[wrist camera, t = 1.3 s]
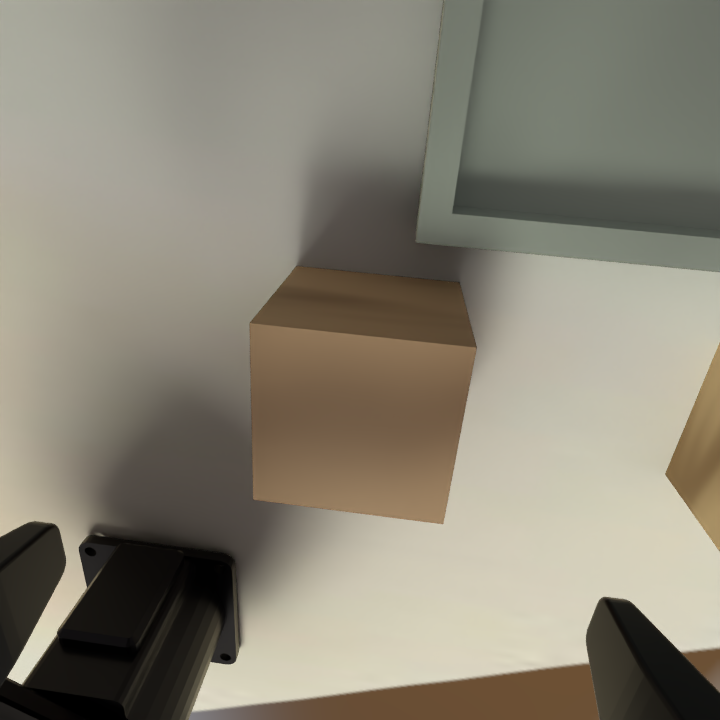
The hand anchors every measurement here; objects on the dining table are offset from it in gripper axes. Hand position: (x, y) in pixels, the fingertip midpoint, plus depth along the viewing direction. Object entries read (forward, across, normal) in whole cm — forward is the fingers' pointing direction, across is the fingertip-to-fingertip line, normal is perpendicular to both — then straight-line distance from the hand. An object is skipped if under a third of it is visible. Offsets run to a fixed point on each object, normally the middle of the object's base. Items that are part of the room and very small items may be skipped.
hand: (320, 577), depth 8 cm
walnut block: (+9, 0, 0) cm, 9 cm away
